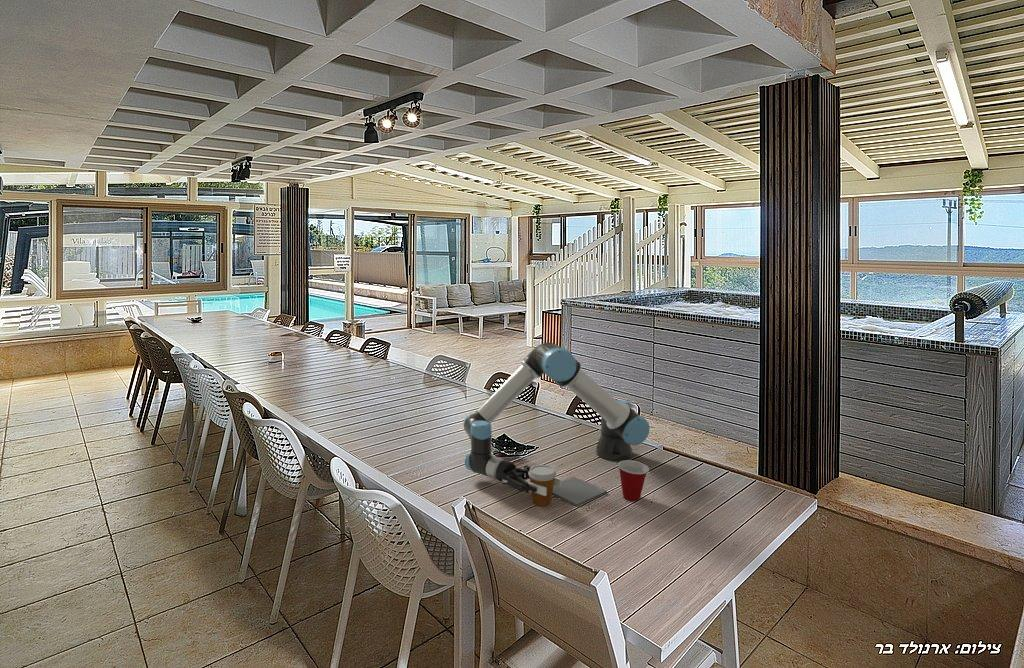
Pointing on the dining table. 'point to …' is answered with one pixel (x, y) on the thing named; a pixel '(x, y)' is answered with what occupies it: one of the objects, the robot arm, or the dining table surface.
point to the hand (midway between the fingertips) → (553, 487)
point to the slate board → (577, 491)
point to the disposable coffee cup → (542, 483)
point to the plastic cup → (632, 478)
